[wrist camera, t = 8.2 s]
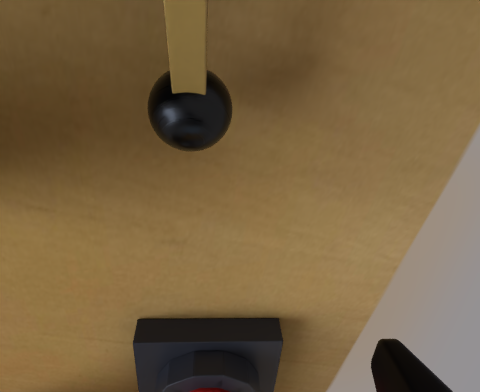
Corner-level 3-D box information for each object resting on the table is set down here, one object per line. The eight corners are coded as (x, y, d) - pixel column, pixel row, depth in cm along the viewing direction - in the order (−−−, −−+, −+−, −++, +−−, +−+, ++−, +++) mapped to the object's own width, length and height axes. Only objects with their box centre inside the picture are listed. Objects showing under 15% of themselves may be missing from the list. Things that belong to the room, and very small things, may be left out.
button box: (145, 393, 28) (137, 444, 25) (137, 318, 24) (127, 369, 21) (266, 390, 29) (272, 439, 26) (278, 317, 25) (288, 366, 22)
